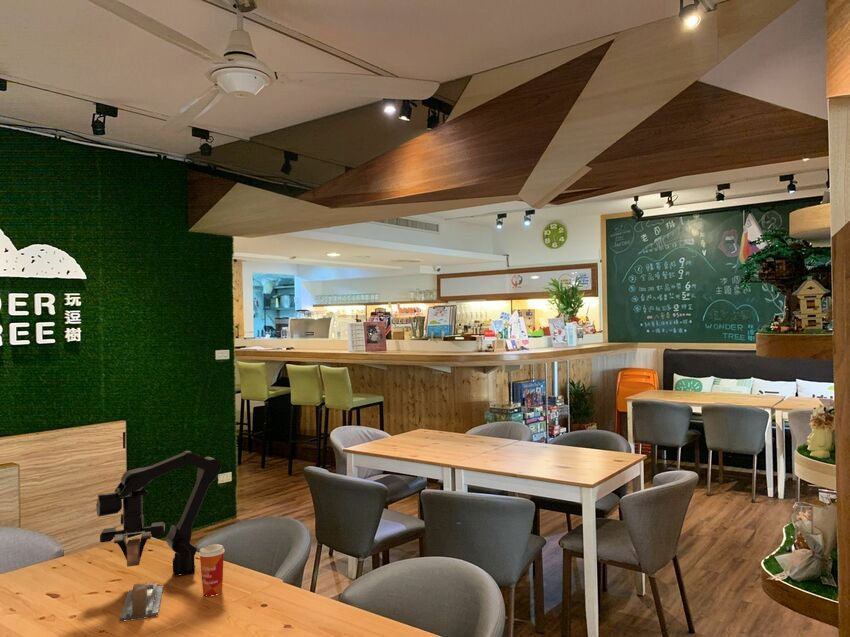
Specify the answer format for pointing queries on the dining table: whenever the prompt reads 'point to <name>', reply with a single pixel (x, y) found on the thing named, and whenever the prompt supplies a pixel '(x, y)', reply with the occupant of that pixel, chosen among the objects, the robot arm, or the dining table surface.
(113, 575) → the dining table surface
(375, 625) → the dining table surface
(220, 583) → the paper cup
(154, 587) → the rail
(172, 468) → the robot arm
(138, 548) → the tan wooden block
